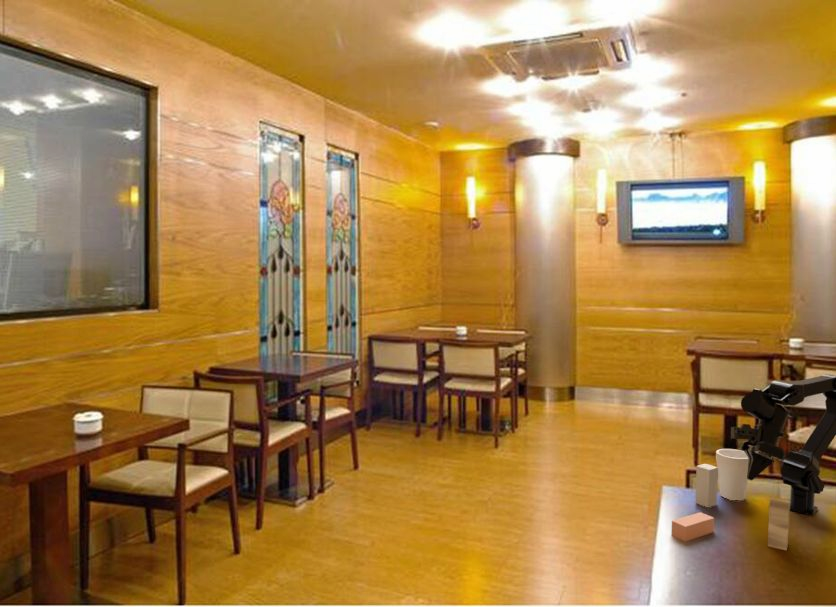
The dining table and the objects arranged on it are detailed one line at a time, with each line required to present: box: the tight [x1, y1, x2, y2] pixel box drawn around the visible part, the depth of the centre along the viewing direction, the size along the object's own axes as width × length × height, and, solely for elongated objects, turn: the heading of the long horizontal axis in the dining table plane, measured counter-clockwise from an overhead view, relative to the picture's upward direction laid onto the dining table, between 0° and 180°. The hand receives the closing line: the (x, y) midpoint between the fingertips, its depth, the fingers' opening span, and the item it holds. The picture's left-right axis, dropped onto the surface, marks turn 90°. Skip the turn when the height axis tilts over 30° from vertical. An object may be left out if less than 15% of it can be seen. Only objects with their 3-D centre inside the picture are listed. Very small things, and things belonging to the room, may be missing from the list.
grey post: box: [694, 463, 719, 508], centre depth 179 cm, size 4×4×11 cm
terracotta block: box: [671, 512, 715, 542], centre depth 160 cm, size 4×4×11 cm
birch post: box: [767, 496, 791, 551], centre depth 153 cm, size 4×4×11 cm
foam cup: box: [715, 448, 749, 501], centre depth 184 cm, size 10×9×13 cm
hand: (749, 479), depth 167 cm, fingers closed
